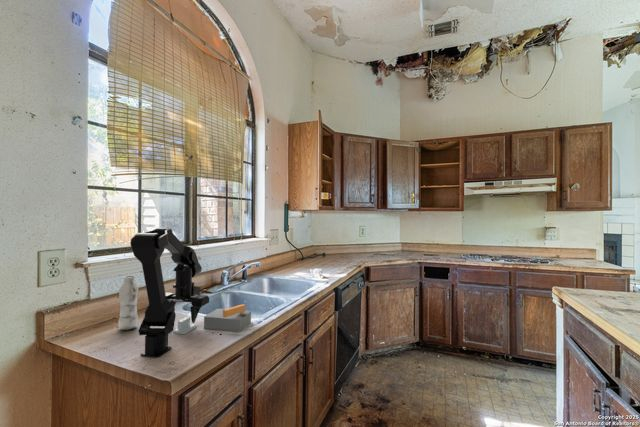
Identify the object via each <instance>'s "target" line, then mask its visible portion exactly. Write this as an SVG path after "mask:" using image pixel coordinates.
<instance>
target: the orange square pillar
mask: <svg viewBox="0 0 640 427" xmlns="http://www.w3.org/2000/svg"><path fill="white" fill-rule="evenodd" d="M223 309H224V310H223V317H225V318H226V317H229V316H232V315H235V314H238V313H240V315H244V314H245V311H246V304H239V305H235V306H232V307H228V308H223Z"/></svg>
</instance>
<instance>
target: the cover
mask: <svg viewBox="0 0 640 427" xmlns="http://www.w3.org/2000/svg"><path fill="white" fill-rule="evenodd" d="M195 328H197V324H196V323H191V316H190V317H189V316H185V317H183V318H182V319H180V320H177V328H175V329H173V333H174V334H180V335H181V334H183V335H186V334H188V333H189V332H190V331H192V330H194V329H195Z"/></svg>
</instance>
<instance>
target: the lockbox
mask: <svg viewBox="0 0 640 427" xmlns="http://www.w3.org/2000/svg"><path fill="white" fill-rule="evenodd" d="M224 309H225V308H216V309H214V310H212V311H211V312H210V313H208V314H206V315H204V316H203V329H207V330H208V329H209V330H220V331H230V332H239V333H241V331H242V330H243V329H245V328H246V327H247V326H248V325H250V323H252V311H251V310H245V314H244V315H240V313H238V314H235V315H232V316H229V317H226V318H225V317H223V310H224Z"/></svg>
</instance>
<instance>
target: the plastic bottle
mask: <svg viewBox="0 0 640 427" xmlns="http://www.w3.org/2000/svg"><path fill="white" fill-rule="evenodd" d="M135 278H136V277H135V275H125V276H123V279H122V281H123V283H122V285H121V286H120V288H119V289H118V296H119V304H120V305H119V306H120V309H119V310H120V311H119V318H118V323H117V324H118V328H119V329H120V330H121V331H128V330H132V329H133V330H134V329H135V328H136V327H137V326H138V324H139V315H138V309H137V308H138V305H137V303H138V296H139V290H140V289H139V287H138V285H137V284H136V283H135V282H136V279H135Z"/></svg>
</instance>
